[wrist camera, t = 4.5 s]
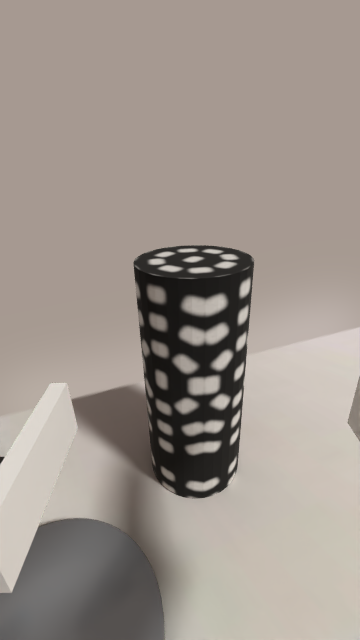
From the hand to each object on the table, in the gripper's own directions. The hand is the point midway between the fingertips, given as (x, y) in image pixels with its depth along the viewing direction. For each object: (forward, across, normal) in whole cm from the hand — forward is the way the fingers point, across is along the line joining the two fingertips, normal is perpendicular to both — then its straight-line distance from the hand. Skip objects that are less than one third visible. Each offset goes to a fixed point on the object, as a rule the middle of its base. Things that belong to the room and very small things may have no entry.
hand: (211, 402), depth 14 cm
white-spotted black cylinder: (+10, -1, -16) cm, 19 cm away
